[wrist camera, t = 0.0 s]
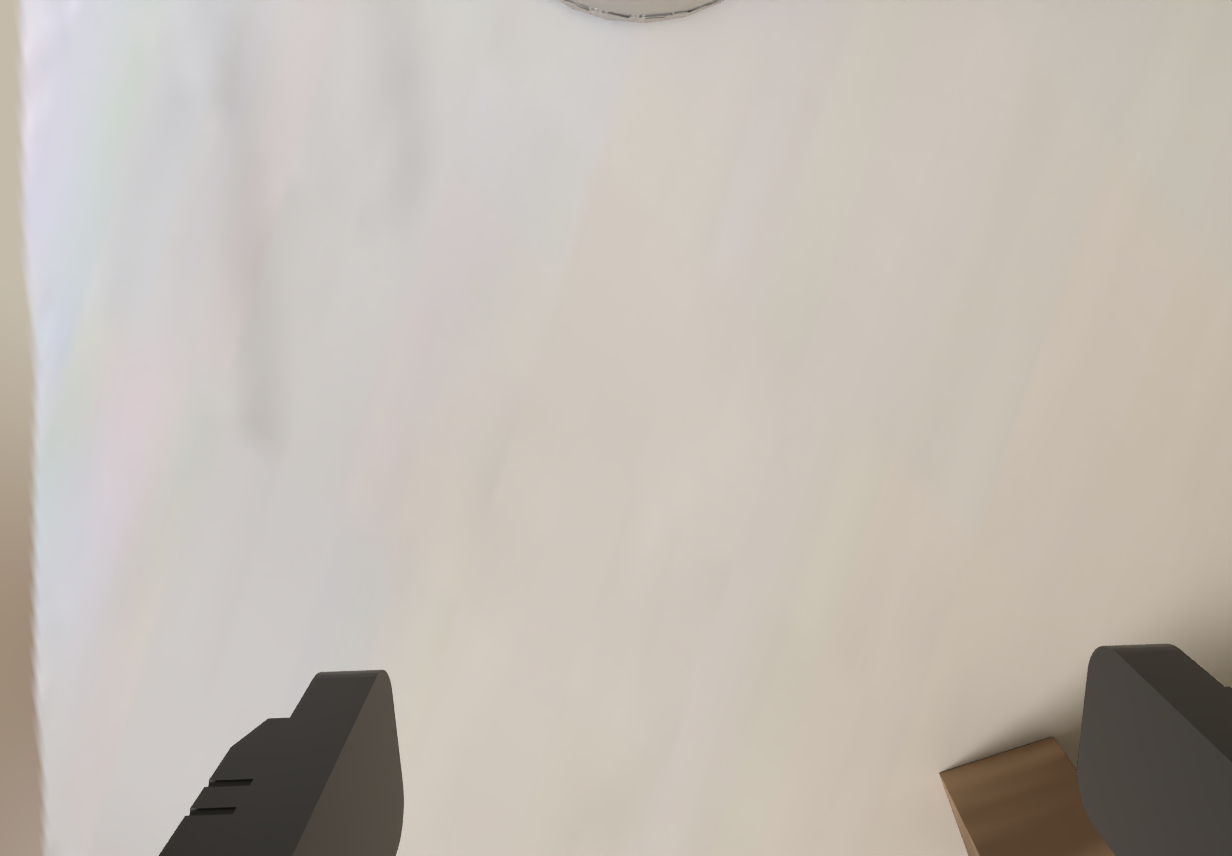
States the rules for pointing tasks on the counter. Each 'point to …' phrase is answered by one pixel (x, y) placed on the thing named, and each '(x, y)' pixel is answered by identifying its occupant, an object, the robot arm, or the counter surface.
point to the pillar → (1022, 805)
